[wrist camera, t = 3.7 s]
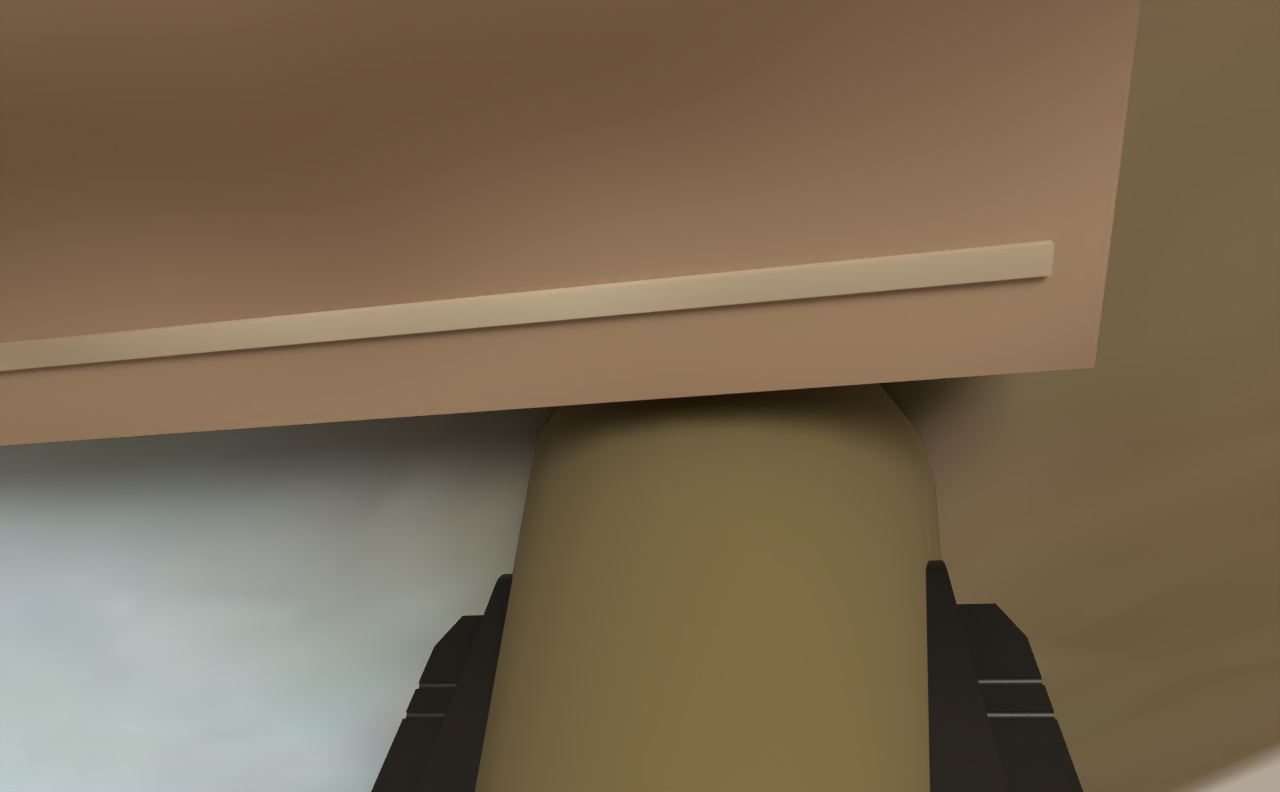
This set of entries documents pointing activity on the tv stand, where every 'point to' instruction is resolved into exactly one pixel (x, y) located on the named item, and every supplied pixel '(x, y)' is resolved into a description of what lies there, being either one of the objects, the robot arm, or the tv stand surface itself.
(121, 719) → the tv stand surface
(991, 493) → the tv stand surface
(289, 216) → the walnut board
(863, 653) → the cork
